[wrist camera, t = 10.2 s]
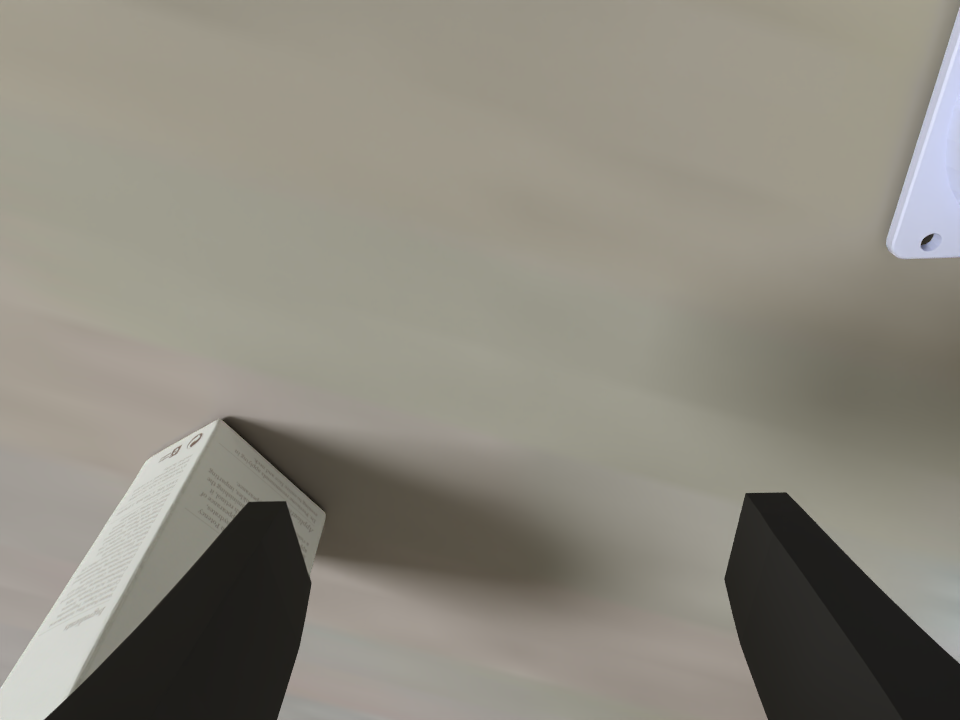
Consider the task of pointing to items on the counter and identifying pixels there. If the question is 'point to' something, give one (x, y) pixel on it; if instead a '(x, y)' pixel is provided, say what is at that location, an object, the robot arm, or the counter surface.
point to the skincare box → (148, 558)
